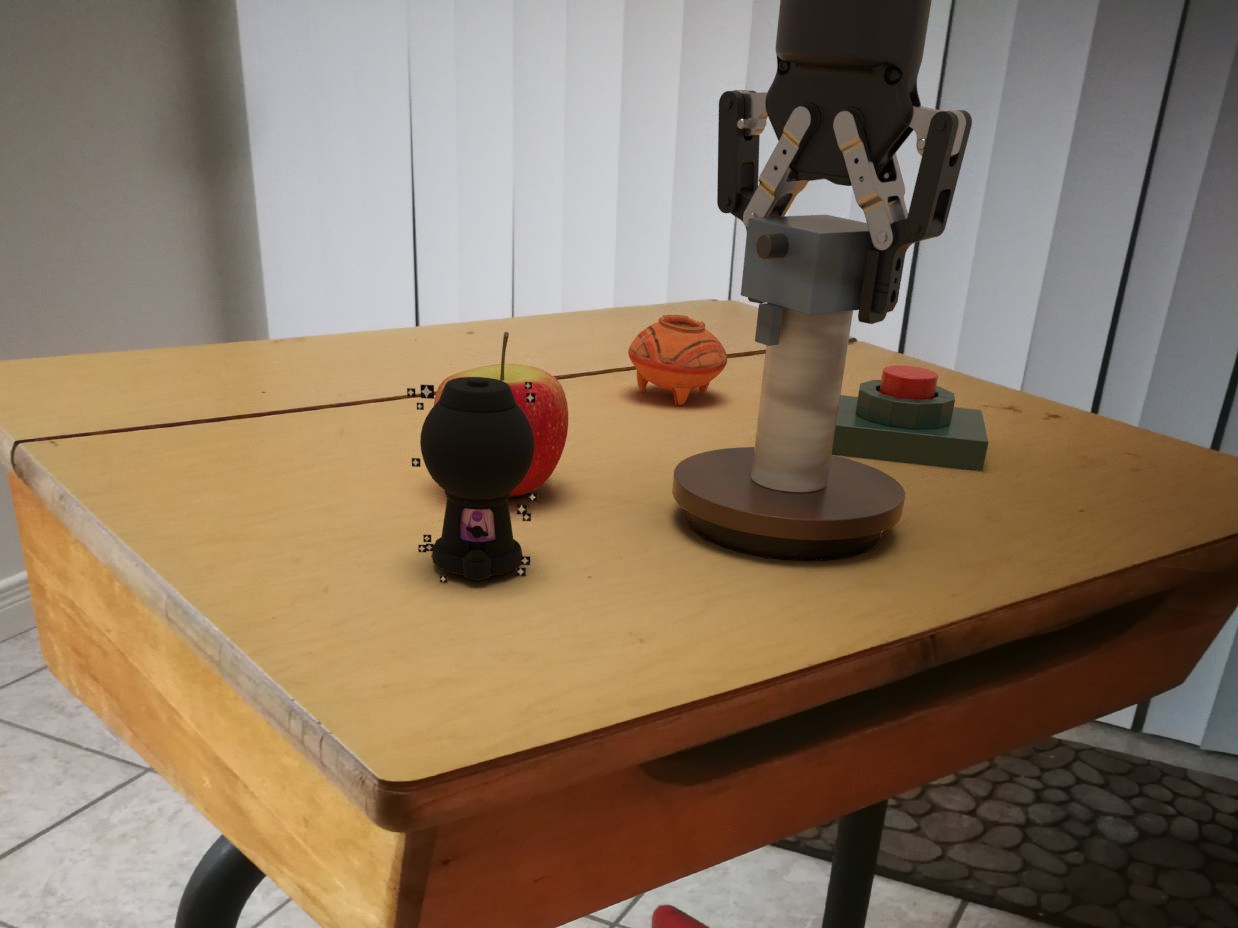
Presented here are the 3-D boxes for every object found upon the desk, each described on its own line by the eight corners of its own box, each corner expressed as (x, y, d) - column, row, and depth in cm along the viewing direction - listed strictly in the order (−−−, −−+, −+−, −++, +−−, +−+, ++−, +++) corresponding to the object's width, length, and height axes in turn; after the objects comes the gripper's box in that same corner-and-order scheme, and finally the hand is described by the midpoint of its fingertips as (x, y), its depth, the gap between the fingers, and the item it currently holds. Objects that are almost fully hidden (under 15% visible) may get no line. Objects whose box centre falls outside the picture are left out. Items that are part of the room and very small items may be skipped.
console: (975, 438, 98) (987, 385, 96) (982, 472, 90) (994, 415, 88) (820, 421, 99) (827, 368, 97) (813, 453, 92) (821, 397, 90)
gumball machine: (408, 586, 67) (402, 391, 61) (415, 546, 72) (410, 362, 66) (536, 590, 67) (542, 397, 62) (534, 549, 72) (538, 368, 67)
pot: (675, 375, 108) (696, 296, 104) (730, 420, 104) (755, 340, 99) (599, 381, 104) (618, 299, 99) (654, 428, 100) (676, 345, 95)
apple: (441, 514, 76) (438, 340, 71) (429, 471, 83) (425, 309, 78) (576, 513, 78) (583, 342, 73) (553, 470, 85) (558, 312, 80)
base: (881, 506, 83) (885, 486, 82) (879, 571, 73) (883, 550, 72) (699, 485, 84) (701, 465, 83) (672, 546, 74) (674, 524, 73)
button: (933, 393, 94) (937, 368, 94) (934, 406, 91) (939, 380, 90) (878, 387, 95) (883, 362, 94) (878, 400, 92) (882, 375, 91)
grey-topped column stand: (790, 454, 86) (824, 202, 77) (950, 516, 77) (1007, 238, 68) (626, 483, 78) (643, 208, 70) (781, 556, 69) (822, 250, 61)
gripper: (1028, -37, 62) (960, 323, 71) (774, -46, 69) (741, 283, 78) (966, -47, 57) (901, 343, 66) (698, -56, 64) (672, 299, 73)
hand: (815, 310), depth 72 cm, fingers closed on grey-topped column stand, 6 cm apart
